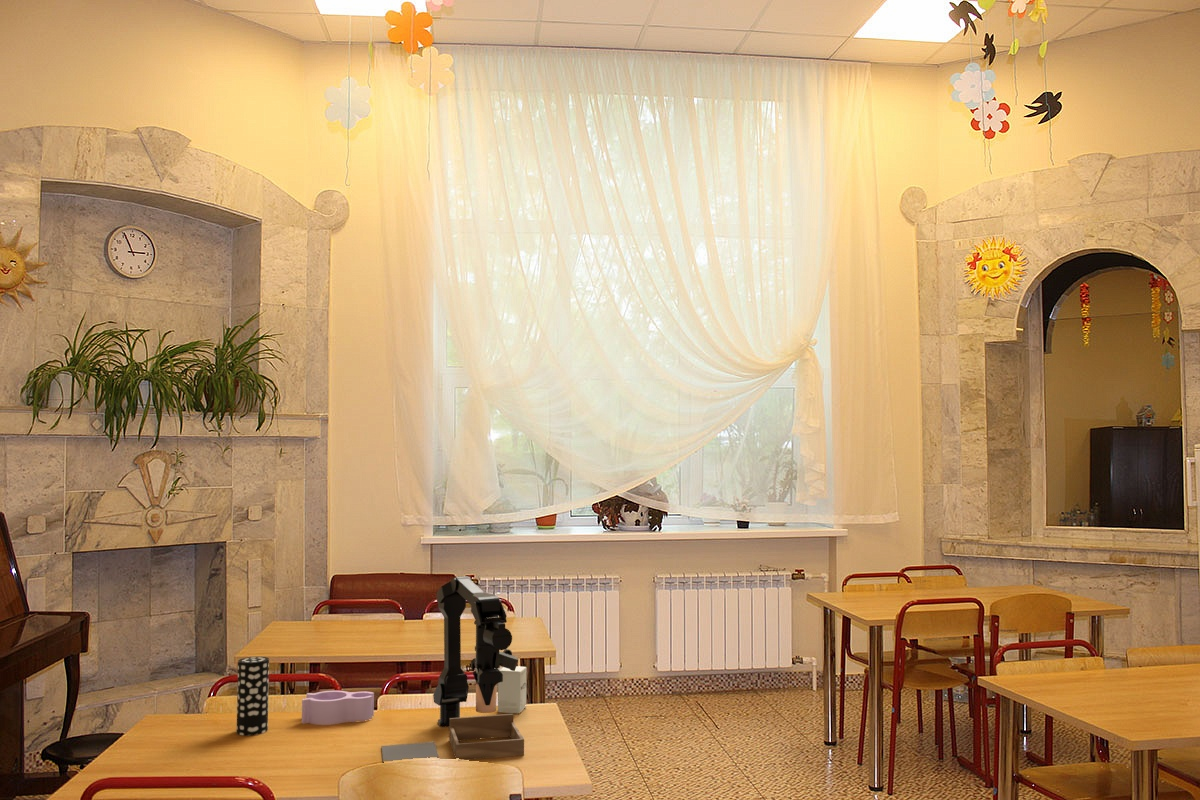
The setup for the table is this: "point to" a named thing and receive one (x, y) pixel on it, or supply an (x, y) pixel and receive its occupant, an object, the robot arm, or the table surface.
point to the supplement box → (512, 690)
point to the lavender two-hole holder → (337, 707)
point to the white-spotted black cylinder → (252, 695)
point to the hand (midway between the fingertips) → (486, 702)
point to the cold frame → (485, 736)
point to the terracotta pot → (481, 704)
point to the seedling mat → (409, 751)
